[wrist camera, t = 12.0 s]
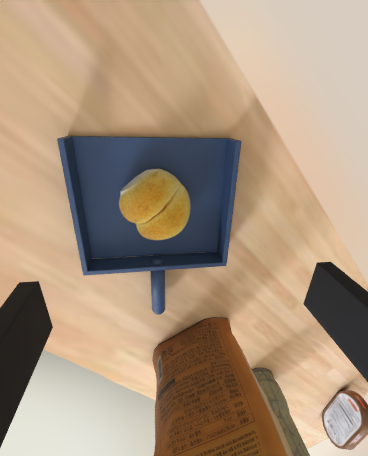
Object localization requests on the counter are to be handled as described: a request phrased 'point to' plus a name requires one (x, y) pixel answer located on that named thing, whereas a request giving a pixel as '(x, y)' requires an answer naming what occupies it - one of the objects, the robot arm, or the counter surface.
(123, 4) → the counter surface
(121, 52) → the counter surface
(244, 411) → the pancake mix bag
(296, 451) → the thermos
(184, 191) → the bread roll
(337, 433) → the tin
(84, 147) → the scoop
